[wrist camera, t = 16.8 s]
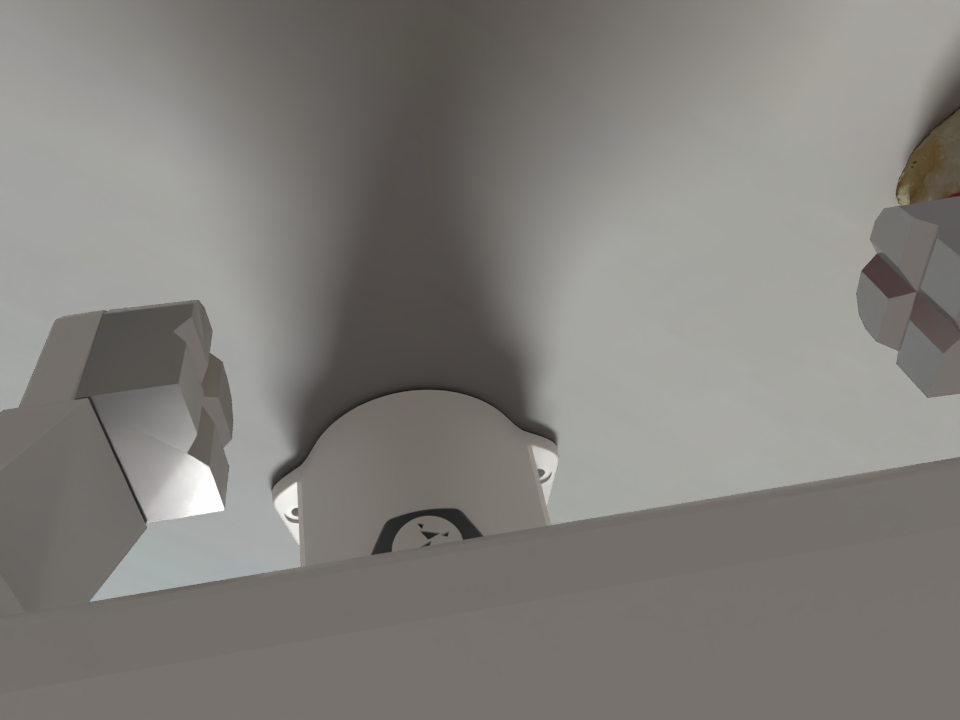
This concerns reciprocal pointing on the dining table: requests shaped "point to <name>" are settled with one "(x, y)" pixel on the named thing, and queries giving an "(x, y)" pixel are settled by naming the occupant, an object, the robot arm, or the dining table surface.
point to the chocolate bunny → (933, 166)
